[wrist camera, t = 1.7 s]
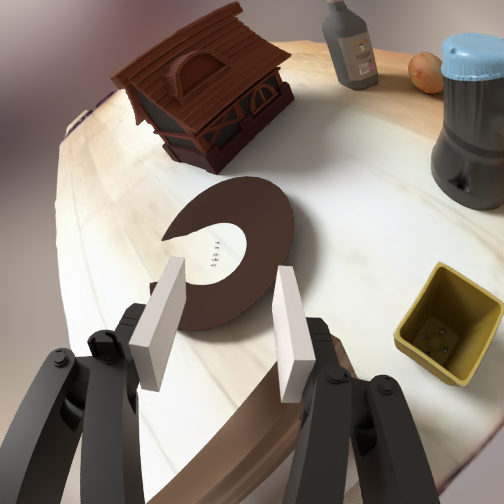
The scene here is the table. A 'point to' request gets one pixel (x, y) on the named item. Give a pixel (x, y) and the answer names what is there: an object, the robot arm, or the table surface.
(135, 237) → the table surface
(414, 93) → the table surface
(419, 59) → the onion
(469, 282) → the flower pot
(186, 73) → the house
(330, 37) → the liquor
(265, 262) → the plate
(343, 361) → the cleat board
